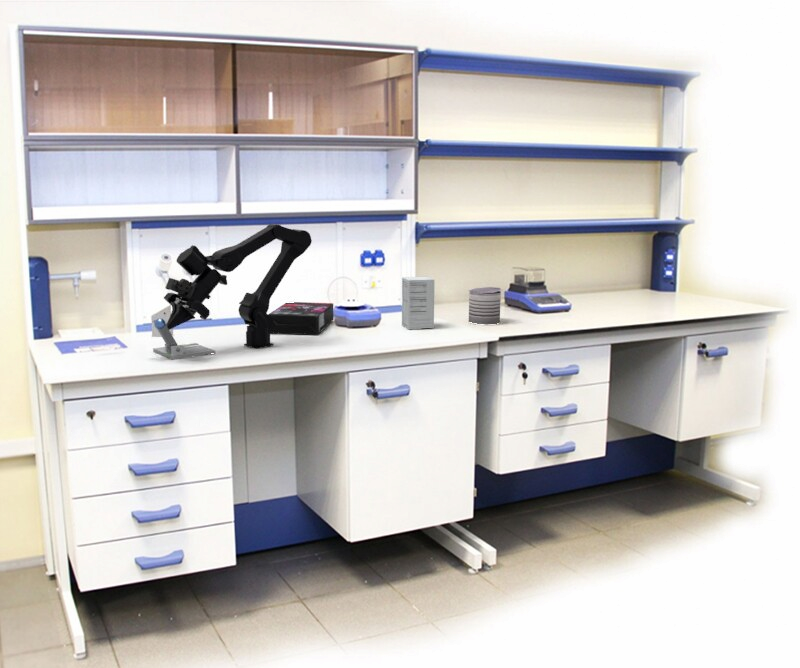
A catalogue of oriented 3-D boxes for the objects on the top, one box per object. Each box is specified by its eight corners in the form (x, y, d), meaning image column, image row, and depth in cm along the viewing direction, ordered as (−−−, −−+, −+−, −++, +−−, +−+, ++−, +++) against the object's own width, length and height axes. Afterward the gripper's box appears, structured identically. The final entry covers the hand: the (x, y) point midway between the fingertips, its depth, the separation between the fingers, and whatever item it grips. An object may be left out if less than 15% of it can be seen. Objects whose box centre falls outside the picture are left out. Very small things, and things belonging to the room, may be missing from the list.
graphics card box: (265, 314, 273) (287, 299, 299) (266, 335, 274) (287, 318, 301) (317, 316, 271) (334, 301, 297) (317, 337, 272) (334, 320, 298)
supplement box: (434, 329, 285) (435, 279, 282) (407, 330, 283) (408, 280, 280) (426, 324, 294) (427, 275, 291) (401, 325, 292) (401, 276, 289)
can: (503, 325, 294) (505, 290, 292) (471, 325, 293) (472, 291, 291) (496, 319, 306) (497, 286, 303) (465, 319, 304) (465, 286, 302)
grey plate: (184, 329, 268) (169, 305, 266) (157, 344, 268) (142, 321, 267) (186, 327, 271) (171, 303, 270) (159, 342, 272) (145, 319, 270)
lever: (177, 345, 241) (159, 315, 236) (181, 347, 239) (163, 317, 234) (168, 351, 239) (150, 321, 235) (172, 353, 237) (154, 323, 232)
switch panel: (195, 346, 254) (194, 334, 253) (214, 353, 244) (214, 341, 243) (153, 351, 246) (152, 339, 245) (172, 359, 236) (171, 347, 235)
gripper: (169, 264, 244) (133, 305, 239) (197, 270, 230) (160, 314, 225) (195, 289, 250) (161, 330, 245) (224, 297, 236) (189, 340, 231)
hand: (167, 328), depth 237 cm, fingers closed, pressing on lever
